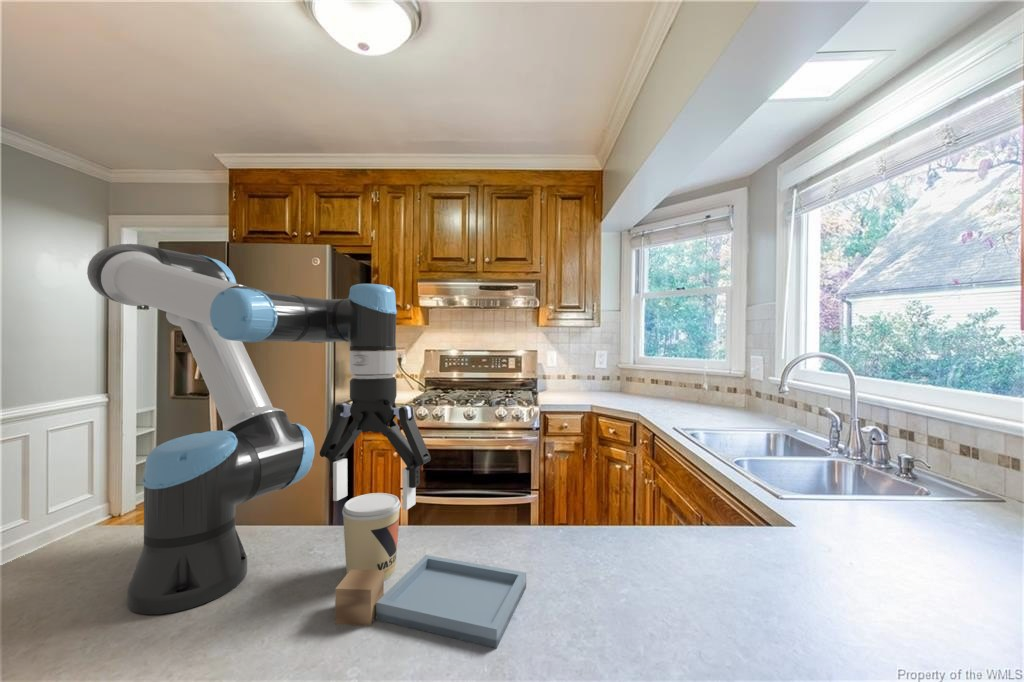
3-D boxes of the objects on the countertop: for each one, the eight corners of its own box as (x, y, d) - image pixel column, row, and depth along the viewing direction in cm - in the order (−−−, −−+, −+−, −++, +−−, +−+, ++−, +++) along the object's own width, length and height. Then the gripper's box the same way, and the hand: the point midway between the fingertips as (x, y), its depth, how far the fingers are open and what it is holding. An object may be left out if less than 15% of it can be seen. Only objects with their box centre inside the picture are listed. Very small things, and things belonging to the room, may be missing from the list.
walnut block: (335, 625, 58) (335, 588, 58) (350, 602, 63) (350, 569, 63) (370, 626, 58) (370, 589, 58) (383, 603, 63) (383, 570, 63)
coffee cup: (383, 592, 66) (383, 515, 66) (329, 585, 67) (330, 510, 68) (409, 562, 75) (409, 494, 75) (361, 556, 77) (362, 490, 77)
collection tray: (375, 619, 59) (376, 602, 59) (425, 568, 72) (425, 554, 72) (496, 648, 54) (496, 629, 54) (526, 587, 67) (526, 572, 67)
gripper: (297, 376, 71) (297, 502, 71) (428, 379, 64) (429, 519, 64) (328, 373, 79) (328, 488, 78) (450, 376, 71) (450, 502, 71)
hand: (373, 502), depth 71 cm, fingers open, 13 cm apart
